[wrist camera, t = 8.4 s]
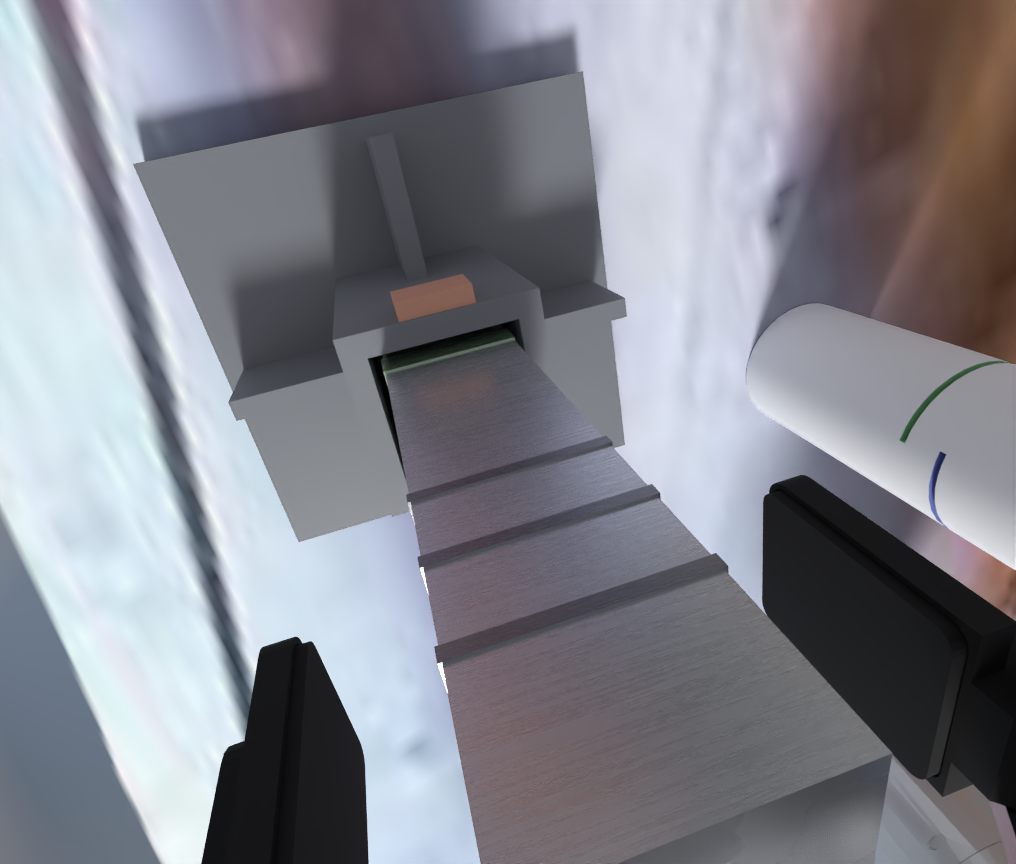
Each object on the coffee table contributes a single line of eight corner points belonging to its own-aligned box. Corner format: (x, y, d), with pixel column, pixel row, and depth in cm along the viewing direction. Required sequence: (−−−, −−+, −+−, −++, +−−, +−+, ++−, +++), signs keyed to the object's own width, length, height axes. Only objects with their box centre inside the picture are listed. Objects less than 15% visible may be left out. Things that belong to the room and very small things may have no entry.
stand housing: (570, 75, 26) (703, 31, 17) (613, 433, 34) (719, 543, 25) (144, 163, 24) (9, 171, 14) (300, 525, 32) (282, 688, 22)
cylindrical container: (739, 426, 36) (1340, 842, 15) (754, 310, 33) (1547, 615, 11) (840, 409, 38) (1526, 766, 16) (863, 297, 35) (1756, 545, 13)
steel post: (489, 309, 22) (898, 748, 6) (510, 411, 23) (862, 953, 8) (377, 338, 21) (483, 912, 5) (407, 440, 23) (555, 1089, 7)
